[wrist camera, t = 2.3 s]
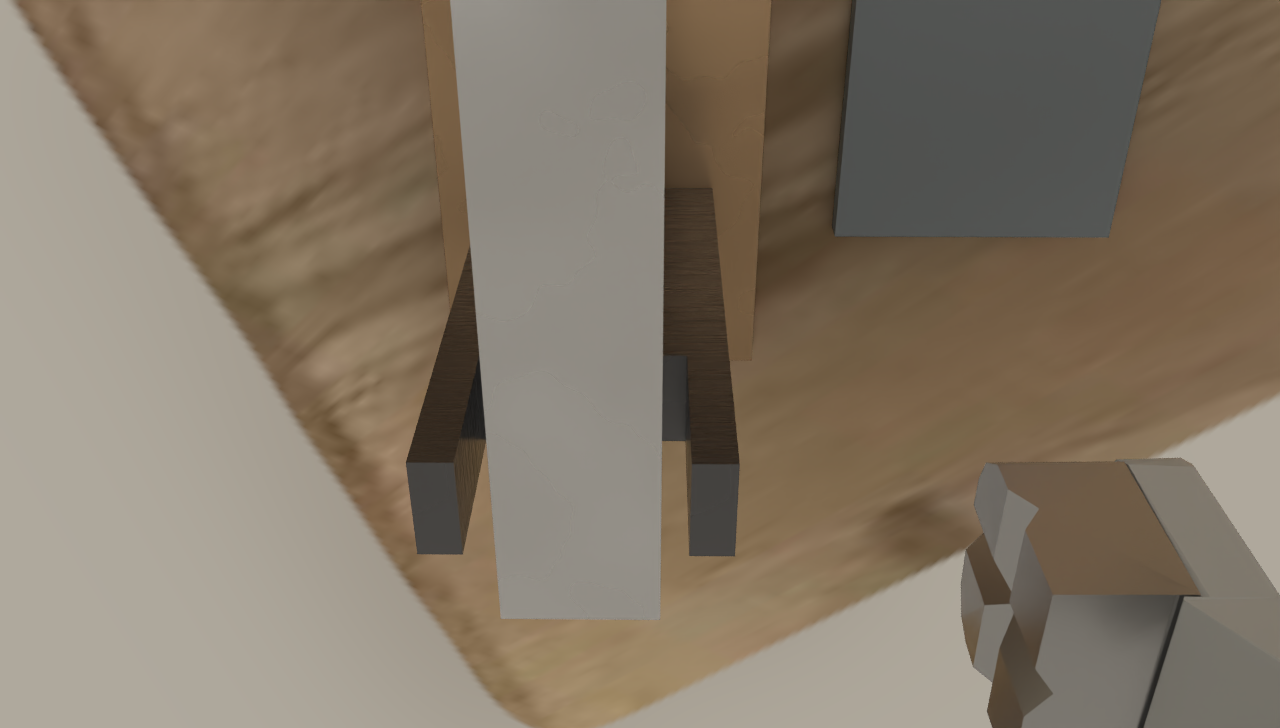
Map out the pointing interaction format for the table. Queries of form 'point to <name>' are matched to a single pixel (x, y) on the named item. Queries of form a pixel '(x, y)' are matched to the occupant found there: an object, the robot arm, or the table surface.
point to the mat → (988, 116)
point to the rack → (693, 271)
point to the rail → (568, 293)
